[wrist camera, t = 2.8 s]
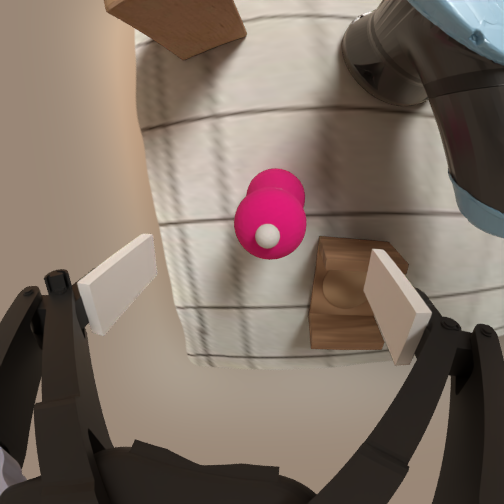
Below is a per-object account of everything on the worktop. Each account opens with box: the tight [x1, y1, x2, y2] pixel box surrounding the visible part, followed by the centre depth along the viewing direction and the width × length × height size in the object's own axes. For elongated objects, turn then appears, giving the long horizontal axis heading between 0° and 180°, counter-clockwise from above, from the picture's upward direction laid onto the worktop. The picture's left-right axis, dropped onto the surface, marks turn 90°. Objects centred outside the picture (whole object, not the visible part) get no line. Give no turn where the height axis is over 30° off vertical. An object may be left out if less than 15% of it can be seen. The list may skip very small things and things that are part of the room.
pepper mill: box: [234, 169, 306, 260], centre depth 28 cm, size 7×7×20 cm
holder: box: [308, 236, 409, 350], centre depth 37 cm, size 14×11×8 cm
